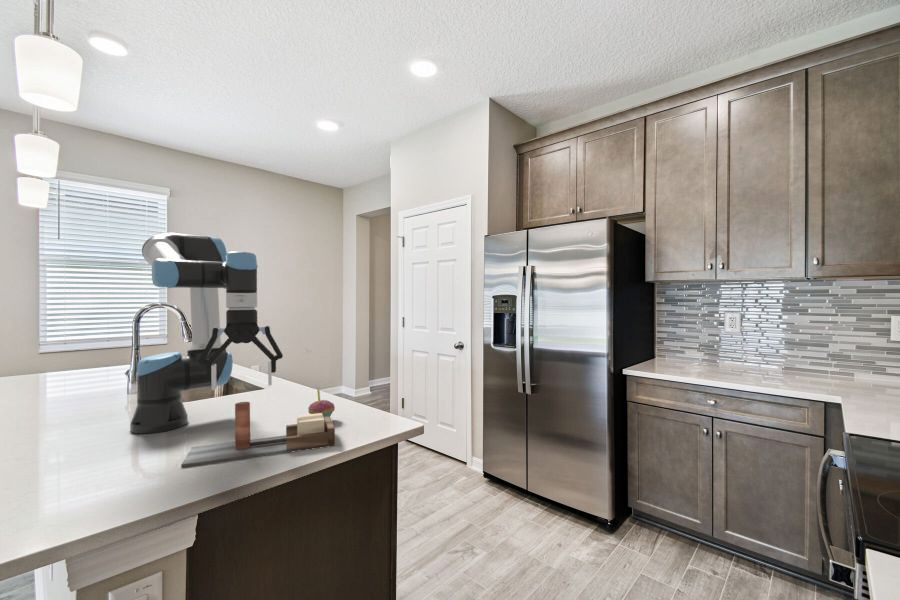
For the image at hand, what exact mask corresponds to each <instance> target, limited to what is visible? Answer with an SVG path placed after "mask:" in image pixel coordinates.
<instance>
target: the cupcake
mask: <svg viewBox="0 0 900 600" xmlns="http://www.w3.org/2000/svg"><path fill="white" fill-rule="evenodd" d="M316 392H317V400H316V401H314V402H312V403H311V404H309V406H308V408H307V409H308V413H309V414H317V413H322V415H323V418H324V417H327V416H330V417H331V416H332V415H333V412H334V411H335V409H336V408H335V404H334V402H331V401H329V400H325V399H323V400H322V399H321V394H320V393H321V392H320V389H319V388H317V391H316Z"/></svg>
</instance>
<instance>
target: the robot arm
mask: <svg viewBox="0 0 900 600" xmlns="http://www.w3.org/2000/svg"><path fill="white" fill-rule="evenodd" d="M141 253H142V257H143V258H144V260H145V262H147V263H148V264H149V265H151V280H152V285H154V286H155V287H156V288H157V287H158V288H167V289H173V288H174V289H175V288H177V289H178V288H182V289H183V288H186V289H187V288H189V295H190V318H191V319H190V320H191V323H190V324H191V325H190V326H191V343H192V345H191V346H190V347H189V348H188V349H187V352H186V353H187V354H186V355H182V354H181V352H180V351H173V352H171V351H170V352H164V353H163V352H162V353H158V354H153V355H149V356H146V357H143V358H141V359H140V360H139V361H138V362H137V365H136V366H137V367H136V373H135V376H136V377H137V378H136V383H137V384H136V385H137V386H136V389H137V390H136V407H135V410H134V413H133V416H132V418H131V421H130V427H129V428H130V430H129V431H130V433H133V434H155V433H161V432H167V431H171V430H174V429H178V428H180V426H181V427H182V426H185V425H187V424H188V421H189V416H188V413H187V410H186V408H185V406H184V404H183V401H182V392H184V391H189V390H190V391H191V390H192V391H193V390H197V389H206V388H211V391H216V389H217V387H218V386H225V384H227V383H228V382H229V380H230V378H231V375H232V373H233V362H234V361H233V355H232V352H230V351H227V348H228V347H229V346H230V344H232V343H234V344H249V343H251V342H252V343H253V344H254V346H257V348H258V349H259V350H260V351H261V352H262V353H263V354H264V355H265V356H266V357H267V358H268V359H269V360H268V361H267V364H268V365H267V366H268V367H267V368H268V369H267V370H268V371H267V372H268V375H267V376H268V378H267V380H268V382H267V384H268V385H267V386H272V384H273V377H272V376H273V375H272V373H273V374H274V373H276V371H277V361H278V360H281V359H283V356H284V355H283V353H282V351H281V349H280V347H279V346H278V344H277V342H276V340H275V338H274V337H273V335H272V333H271V328H270V326H269V325H266V326H261V327H259V325H258V310H257V309H255V308H258V263H257V262H258V260H257V256H256V254H255V253H253V252H248V251H228V252H227V249H226V245H225V243H224V241H223V240H222V239H221V238H219V237H218V236H210V235H202V234H199V235H198V234H189V233H177V232H165V233H160V234H156V235H154V236H151V237H150V238H148V239H147V240H146V241H144V242H143V245H142V247H141ZM219 289H225V307H226V308H227V310H226V312H225V313H226V314H225V315H226V317H225V318H226V320H225V321H226V322H225V324H226V326H225V327H224V328H222V327H221V324H220V323H221V321H220V320H221V319H220V318H221V317H220V302H219V301H220V300H219ZM259 332H261V333H262V335H265V337H266V338H267V340H268V342H269V344H270V346H271V347H272V349H273V351H274V353H275V354H273V352H272V351H270V350H269V348H267V347H266V345H264V344H263V342H261V341H260V339H259V338H258V337H257V335H258V334H259ZM223 333H224V334H225V335H226V336H227V337H228V338H227V339H226V340H225V341H224V342H223V343H222V340H221V336H222V335H223Z"/></svg>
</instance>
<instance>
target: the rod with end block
mask: <svg viewBox="0 0 900 600" xmlns="http://www.w3.org/2000/svg"><path fill="white" fill-rule="evenodd" d="M296 422H297V423H296V424H297V435H304V434H312V433H320V432H324V418H323V415H322V413H317V414H310V413H309V414H301V415H299V414H298V415H297V417H296ZM234 428H235V429H234V430H235V431H234V440H235V441H234V442H235V449H237V450H242V449H247V448H249V447H250V446H256V445H264V444H272V443H279V442H286V438H281V439H274V440H266V441H258V442H251V443H250V440H251V402H250V401H240V402H236V403H235V404H234Z"/></svg>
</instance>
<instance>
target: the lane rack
mask: <svg viewBox="0 0 900 600" xmlns="http://www.w3.org/2000/svg"><path fill="white" fill-rule="evenodd" d="M285 428H286V431H285V433H286V434H283V435H279V436H278V435H276V436H269V437H262V438H254V439H250V443H251V442H258V441H266V440H274V439H281V438H286V442H279V443H272V444H264V445H256V446H250V447H249V448H247V449H242V450H237V449H235V441H230V442H222V443H215V444H206V445H198V446H197V445H196V446H192V447H191V448H190V450H189V452H188V453H187V455H186V456H185V457H184V459H183V461H182V463H181V465H180V467H181V468H188V467H197V466H201V465H203V466H204V465H208V464H211V465H212V464H217V463H224V462H230V461H239V460H245V459H252V458H258V457H265V456H271V455H272V456H273V454H274V455H280V454H279V453H281V454H287V453H286V452H288V453H292V451H295V452H299V451H298V450H302V451H307V450H306V449H309V450H313V449H312V448H316V449H321V448H320V447H323V448H328V447H327V446H330V447H335V446H334V445H336V442H335V441H336V440H335V438H336V436H335V433H336V432H335V431H336V428H335V425H334V423H333V420H332V417H331V416H327V417H324V432H320V433H312V434H304V435H297V423H294V424H292V423H291V424H286V426H285ZM196 465H197V466H196Z"/></svg>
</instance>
